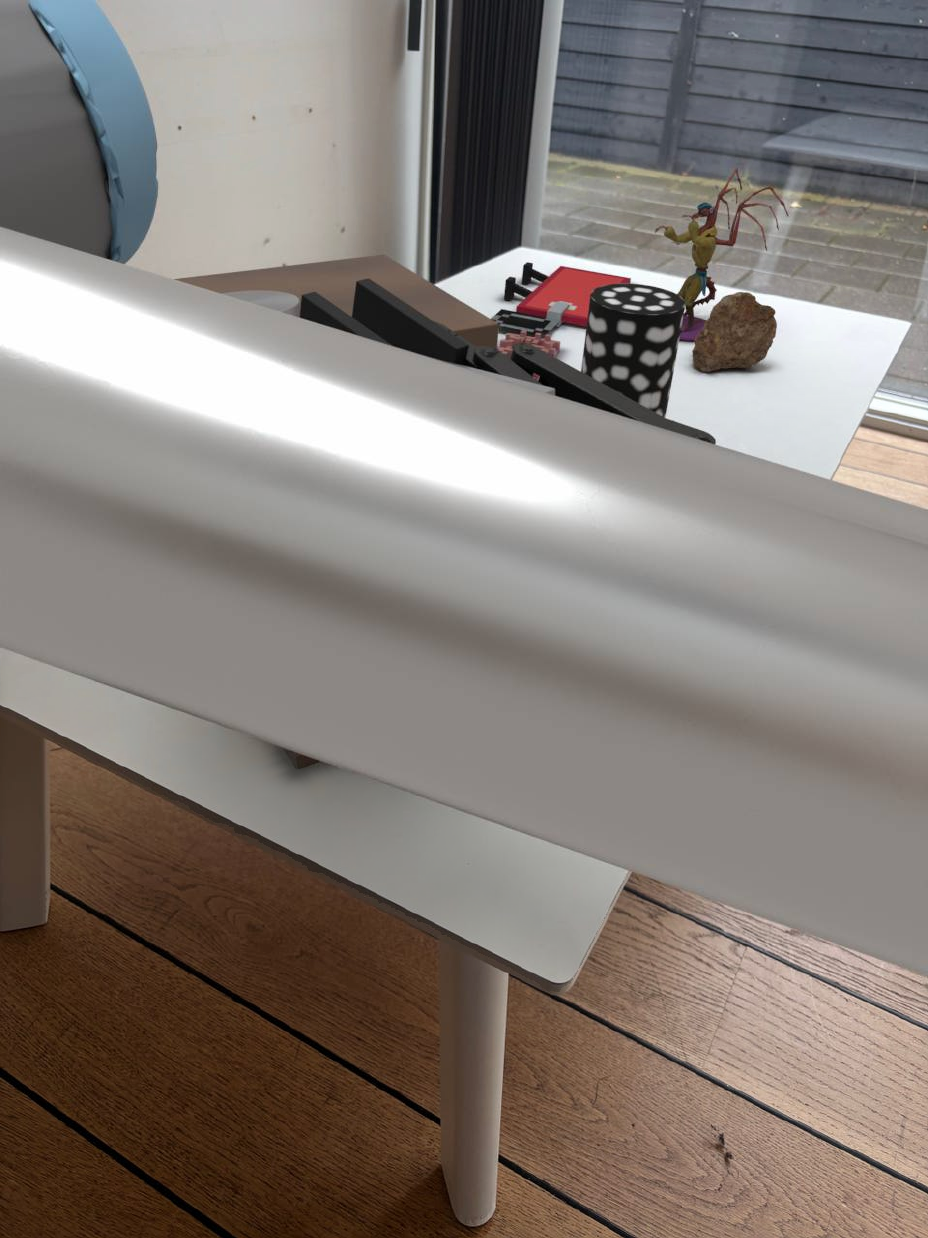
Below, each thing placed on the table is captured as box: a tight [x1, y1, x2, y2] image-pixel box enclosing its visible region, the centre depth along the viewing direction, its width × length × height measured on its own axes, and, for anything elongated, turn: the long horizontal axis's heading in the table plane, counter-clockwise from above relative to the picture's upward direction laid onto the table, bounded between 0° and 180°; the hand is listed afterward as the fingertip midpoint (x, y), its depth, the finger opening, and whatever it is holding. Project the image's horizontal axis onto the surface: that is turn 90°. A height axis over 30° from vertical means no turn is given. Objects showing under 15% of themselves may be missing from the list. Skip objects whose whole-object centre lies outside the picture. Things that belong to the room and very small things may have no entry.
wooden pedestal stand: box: [173, 254, 500, 769], centre depth 68 cm, size 14×14×29 cm
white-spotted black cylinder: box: [580, 283, 686, 418], centre depth 96 cm, size 8×8×20 cm
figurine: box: [653, 167, 789, 342], centre depth 138 cm, size 14×14×20 cm
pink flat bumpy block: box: [497, 330, 561, 381], centre depth 128 cm, size 7×19×2 cm, turn 162°
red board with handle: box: [490, 261, 632, 336], centre depth 148 cm, size 30×3×15 cm
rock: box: [691, 291, 778, 373], centre depth 130 cm, size 10×6×10 cm
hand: (333, 314), depth 47 cm, fingers closed on measuring spoon, 2 cm apart
